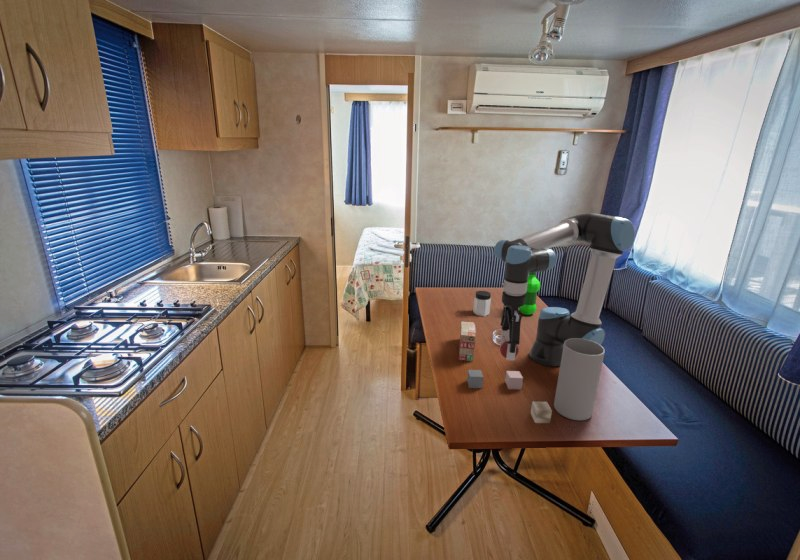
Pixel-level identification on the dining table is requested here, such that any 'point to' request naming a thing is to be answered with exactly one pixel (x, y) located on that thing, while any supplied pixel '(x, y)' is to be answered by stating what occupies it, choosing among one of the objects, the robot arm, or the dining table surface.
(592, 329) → the robot arm
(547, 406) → the birch block
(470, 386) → the slate grey block
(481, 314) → the jar
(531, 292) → the plastic bottle
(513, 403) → the dining table surface
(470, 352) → the stack of blocks
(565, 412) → the cylinder vase
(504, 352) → the fruit
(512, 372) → the dusty rose block
